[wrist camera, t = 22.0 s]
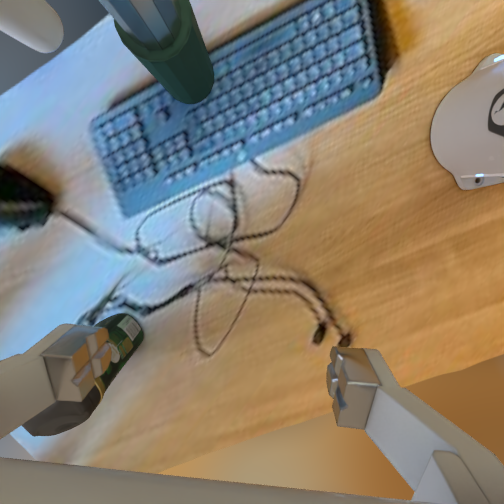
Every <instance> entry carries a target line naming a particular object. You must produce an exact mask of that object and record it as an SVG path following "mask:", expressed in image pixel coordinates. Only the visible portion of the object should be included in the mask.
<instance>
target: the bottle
mask: <svg viewBox="0 0 504 504" xmlns="http://www.w3.org/2000/svg"><path fill="white" fill-rule="evenodd" d="M178 1H179V3H180V6H181V19H182V24H181V25H182V26H181V28H180V31H179V33H178V36H177V38H176V40H175V42H173V43H172V44H171V45H169V46H168V47H167V48H165V49H164V50H146V49H145V48H143V47H141V46H140V45H138V44H136V43H135V42H134V41H133V40H132V39H131V38H130V37H129V36H128V34H127V33H126V32H125V31H124V30H123V28H122V27H121V26H120V25H119V24H118V23H117V21H116V20H115V19H114V23H115V28H116V30H117V32H118V34H119V36H120V38H121V40H122V42H123V44H124V45H125V46H126V47H127V48H128V49H129V50H130V51H131V52H132V53H133V54H134V56H135V57H136V58H137V59H138V60H139V61H140V62H141V63H142V64H143V65H144V66H145V67H146V68H147V70H148V71H149V72H150V73H151V74H152V75H153V76H154V77H155V78H156V79H157V80H158V81H159V82H160V83H161V85H162V86H163V87H164V88H165V89H166V90H167V91H168V92H169V93H170V94H171V95H172V96H173V97H174V98H175V99H177V100H178V101H180V102H182V103H186V104H194V103H198V102H200V101H202V100H203V99H204V98H206V97H207V95H208V94H209V93H210V91H211V89H212V86H213V81H214V72H213V66H212V64H211V61H210V58H209V55H208V52H207V49H206V47H205V44H204V41H203V38H202V35H201V32H200V30H199V27H198V24H197V21H196V18H195V15H194V13H193V10H192V7H191V4H190V2H189V0H178Z"/></svg>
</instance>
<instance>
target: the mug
mask: <svg viewBox="0 0 504 504" xmlns="http://www.w3.org/2000/svg"><path fill="white" fill-rule="evenodd" d="M0 30H1V31H3V32H4V33H6V34H8V35H10V36H11V37H13V38H15V39H16V40H18V41H20V42H21V43H23V44H25V45H27V46H29V47H31V48H32V49H34V50H36V51H38V52H41V53H51V52H53V51H55V50H57V49H58V48H59V47H60V45H61V43H62V41H63V37H64V29H63V24H62V21H61V19H60V17H59V15H58V14H57V12H56V11H55V10H54V9H53V8H52V7H51V6H50V5H49V4H48V3H47V2H46V1H45V0H0Z"/></svg>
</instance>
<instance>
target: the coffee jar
mask: <svg viewBox="0 0 504 504" xmlns="http://www.w3.org/2000/svg"><path fill="white" fill-rule="evenodd" d="M95 326H96V327H104V328H106V329H108V334H109V338H108V339H107V341H106V342H107V343H108V344H109V345H110V346H111V350H112V356H111V361H110V364H109V366H108V368H107V369H106V371H105V372H104V373H103V374H102V375H101V376H99V377H97V378H96V379H95V385H94V386H93V388H92V389H91V390H90V392H89V393H88V394H87V395H86V397H85V398H84V399H83V401H82V402H76V401H60V400H56V402H55V403H53V404H52V405H50V406H49V407H47V408H46V409H44V410H43V411H41V412H40V413H38V414H37V415H35V416H34V417H32V418H31V419H30V420H28V421H27V422H25V423H24V424H22V426H23V427H24V428H25V429H26V430H27V431H28V432H29V433H30V434H31V435H32V436H51V435H56V434H60V433H62V432H64V431H67V430H69V429H72V428H74V427H76V426H78V425H79V424H81V423H83V422H85V421H86V420H87V419H88V418H89V417H90V416H91V414H92V412H93V411H94V410H95V409H96V407H97V406H98V405H99V403H100V402H101V400H102V398H103V396H104V393H105V391H106V390H107V388H108V387H109V385H110V384H111V382H112V381H113V380H114V378H115V377H116V375H117V374H118V373H119V371H120V370H121V369H122V367H123V366H124V365H125V363H126V362H127V361H128V360H129V358H130V357H131V356H132V355H133V353H134V352H135V351H136V349H137V348H138V347H139V345H140V344H141V343H142V341H143V332H142V329H141V327H140V326H139V324H138V323H137V321H136V320H135V319H133V318H132V317H131V316H129V315H127V314H123V313H122V314H117V315H114V316H111V317H109V318H107V319H105V320H103V321H101V322H99V323H98V324H96V325H95Z"/></svg>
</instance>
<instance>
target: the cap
mask: <svg viewBox="0 0 504 504" xmlns="http://www.w3.org/2000/svg"><path fill="white" fill-rule="evenodd" d="M99 1H100V2H101V3H102V5H103V6H104V7H105V8H106V10H107V11H108V12H109V13H110V14H111V15H112V17H113V18H114V19H115V20H116V21H117V23H118V24H119V25H120V26H121V27H122V28H123V30H124V31H125V32H126V33H127V34H128V36H129V37H130V38H131V39H132V40H133V41H134V42H135V43H136V44H138V45H140V46H141V47H143V48H145V49H146V50H164V49H165V48H167V47H168V46H169V45H171V44H172V43H173V42H175V40H176V38H177V36H178V33H179V31H180V28H181V26H182V25H181V24H182V19H181V6H180V3H179V1H178V0H99Z"/></svg>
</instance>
